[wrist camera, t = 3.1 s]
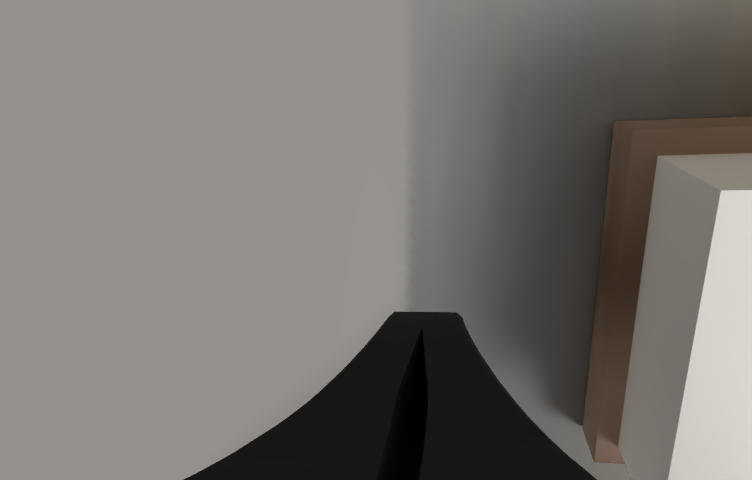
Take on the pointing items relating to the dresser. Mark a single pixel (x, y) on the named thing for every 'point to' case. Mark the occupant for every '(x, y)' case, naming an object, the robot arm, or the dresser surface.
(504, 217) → the dresser surface
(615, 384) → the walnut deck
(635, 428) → the cream tile
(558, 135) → the dresser surface
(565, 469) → the robot arm
